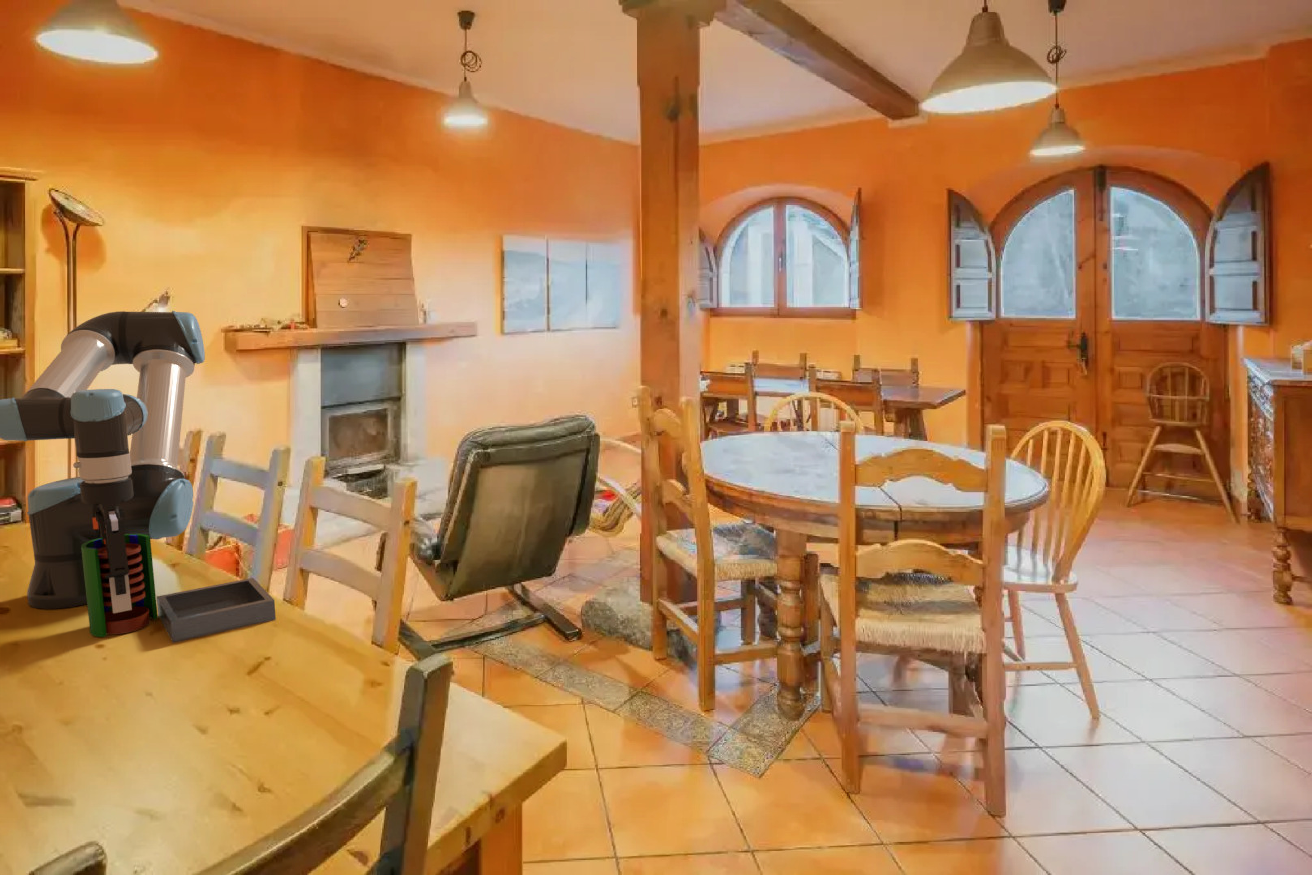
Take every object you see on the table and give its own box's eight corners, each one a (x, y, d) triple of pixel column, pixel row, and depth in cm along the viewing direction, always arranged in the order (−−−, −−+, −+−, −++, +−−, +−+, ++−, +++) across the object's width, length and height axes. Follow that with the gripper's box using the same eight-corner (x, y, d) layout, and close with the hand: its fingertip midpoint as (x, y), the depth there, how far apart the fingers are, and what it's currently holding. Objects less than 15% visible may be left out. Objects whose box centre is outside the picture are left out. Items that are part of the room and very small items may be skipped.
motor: (118, 638, 136) (105, 525, 133) (75, 635, 138) (61, 523, 135) (166, 617, 146) (154, 511, 143) (125, 614, 147) (113, 509, 145)
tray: (158, 615, 147) (156, 596, 146) (254, 595, 157) (253, 577, 156) (172, 642, 135) (170, 621, 134) (275, 619, 145) (274, 599, 145)
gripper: (74, 472, 142) (88, 594, 146) (84, 491, 127) (99, 626, 131) (124, 467, 147) (136, 585, 151) (139, 485, 132) (152, 615, 135)
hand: (119, 604), depth 141 cm, fingers closed on motor, 7 cm apart
